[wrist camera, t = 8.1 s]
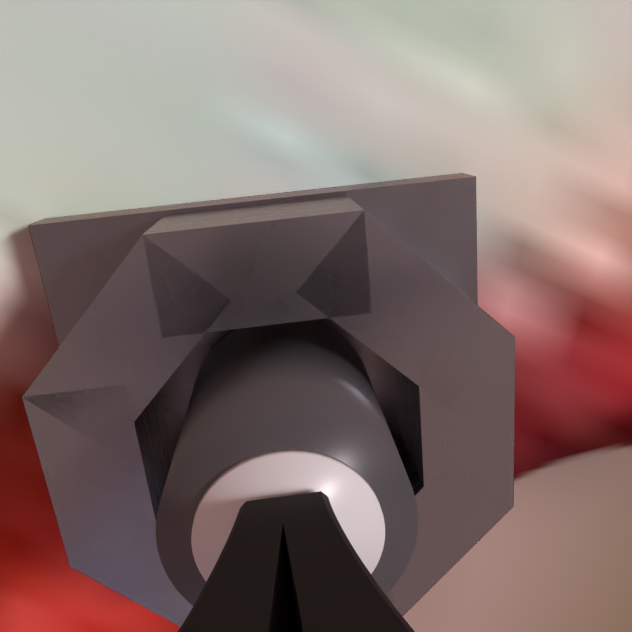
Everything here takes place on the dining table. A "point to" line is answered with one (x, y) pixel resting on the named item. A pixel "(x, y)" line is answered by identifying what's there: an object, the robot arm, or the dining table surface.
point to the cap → (284, 451)
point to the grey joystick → (259, 310)
